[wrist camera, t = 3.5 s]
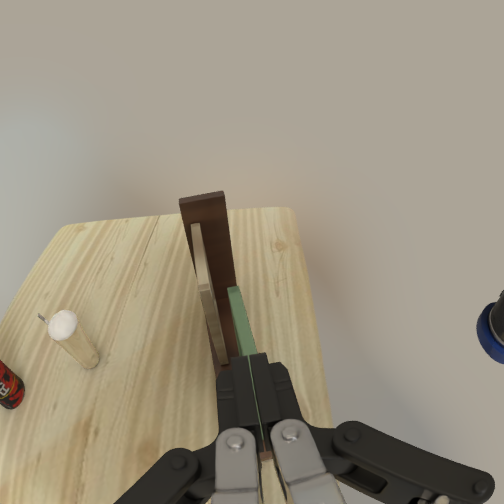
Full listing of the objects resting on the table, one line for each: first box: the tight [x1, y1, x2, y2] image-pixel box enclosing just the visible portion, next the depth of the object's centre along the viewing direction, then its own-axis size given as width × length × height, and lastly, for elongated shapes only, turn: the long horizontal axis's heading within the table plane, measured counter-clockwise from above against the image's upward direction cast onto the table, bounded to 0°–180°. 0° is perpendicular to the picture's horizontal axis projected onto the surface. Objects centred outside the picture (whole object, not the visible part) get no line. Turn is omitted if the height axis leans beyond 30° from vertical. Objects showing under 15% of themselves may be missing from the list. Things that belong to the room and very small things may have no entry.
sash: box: [227, 286, 264, 440], centre depth 26 cm, size 10×1×13 cm, turn 13°
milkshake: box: [37, 310, 99, 369], centre depth 33 cm, size 4×5×10 cm
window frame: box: [179, 191, 273, 461], centre depth 29 cm, size 24×5×17 cm, turn 13°
